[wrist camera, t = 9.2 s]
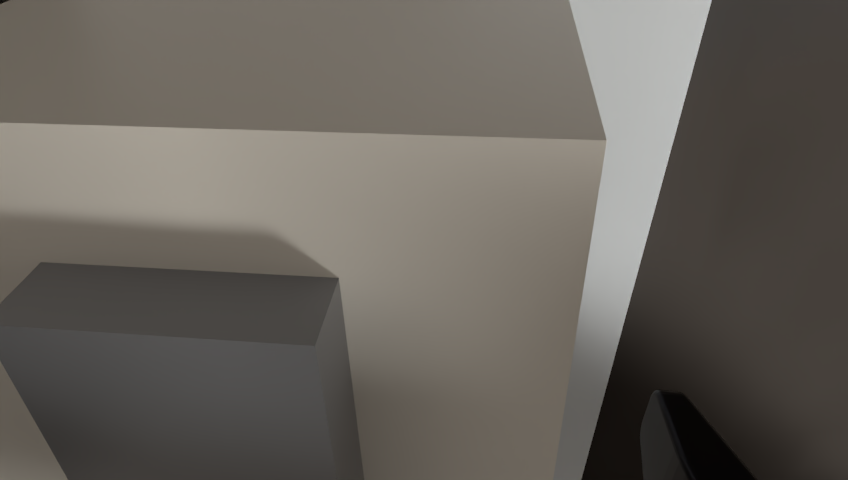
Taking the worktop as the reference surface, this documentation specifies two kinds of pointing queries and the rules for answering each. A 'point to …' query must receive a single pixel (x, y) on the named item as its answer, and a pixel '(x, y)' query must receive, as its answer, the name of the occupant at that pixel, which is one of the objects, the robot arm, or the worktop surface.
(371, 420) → the module
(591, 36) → the mat
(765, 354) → the worktop surface
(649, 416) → the robot arm
